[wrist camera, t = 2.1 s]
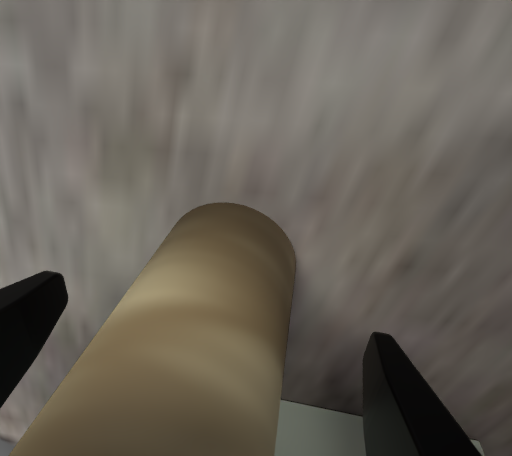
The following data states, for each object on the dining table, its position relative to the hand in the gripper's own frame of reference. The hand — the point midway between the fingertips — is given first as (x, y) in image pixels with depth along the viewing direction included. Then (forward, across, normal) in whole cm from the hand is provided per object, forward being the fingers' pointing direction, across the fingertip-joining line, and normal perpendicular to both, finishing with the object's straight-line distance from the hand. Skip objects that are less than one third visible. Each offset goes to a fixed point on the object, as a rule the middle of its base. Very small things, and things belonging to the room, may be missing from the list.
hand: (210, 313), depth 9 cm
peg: (+2, 0, 0) cm, 2 cm away
